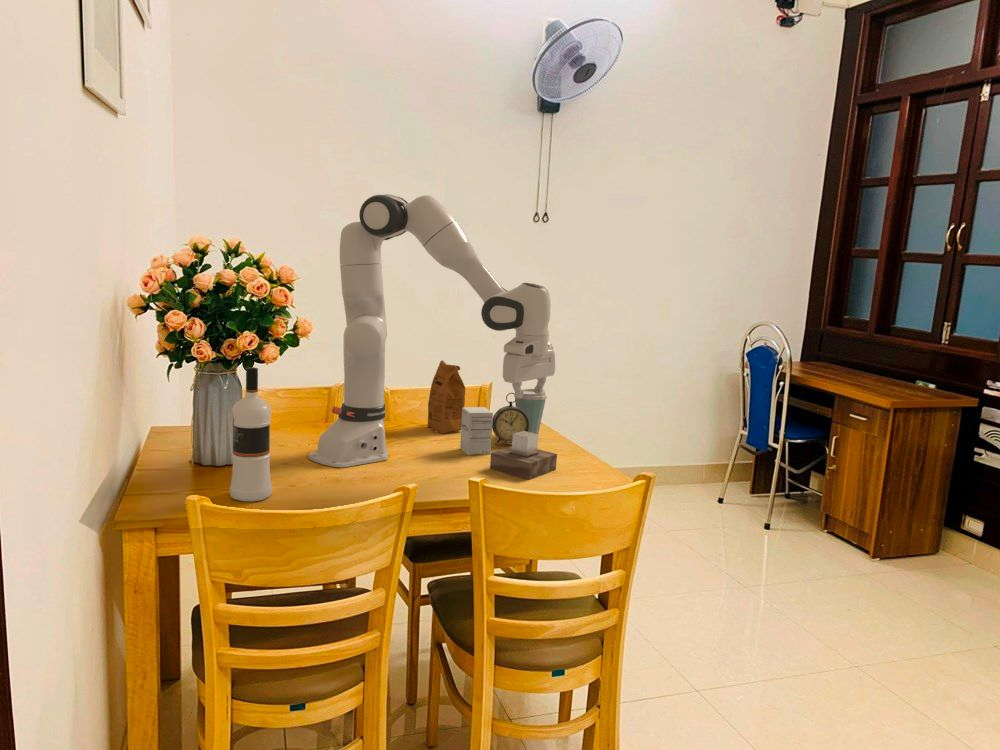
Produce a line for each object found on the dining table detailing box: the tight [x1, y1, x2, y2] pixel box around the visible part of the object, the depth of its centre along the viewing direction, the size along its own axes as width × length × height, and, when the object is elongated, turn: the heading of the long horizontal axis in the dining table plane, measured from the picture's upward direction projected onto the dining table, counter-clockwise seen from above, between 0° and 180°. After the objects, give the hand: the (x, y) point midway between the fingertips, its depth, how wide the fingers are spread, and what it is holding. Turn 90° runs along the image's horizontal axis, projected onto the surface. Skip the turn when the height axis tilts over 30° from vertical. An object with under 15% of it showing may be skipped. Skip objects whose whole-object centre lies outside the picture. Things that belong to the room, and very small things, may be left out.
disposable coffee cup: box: [513, 388, 548, 435], centre depth 244 cm, size 11×11×15 cm
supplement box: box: [459, 406, 494, 456], centre depth 222 cm, size 7×7×13 cm
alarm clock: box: [492, 392, 529, 446], centre depth 232 cm, size 11×5×16 cm, turn 102°
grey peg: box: [511, 431, 539, 458], centre depth 207 cm, size 5×5×10 cm
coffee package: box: [427, 359, 466, 434], centre depth 245 cm, size 10×12×22 cm
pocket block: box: [489, 446, 558, 481], centre depth 208 cm, size 13×13×4 cm
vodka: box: [229, 366, 273, 503], centre depth 172 cm, size 9×9×30 cm
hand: (528, 395), depth 205 cm, fingers open, 8 cm apart
